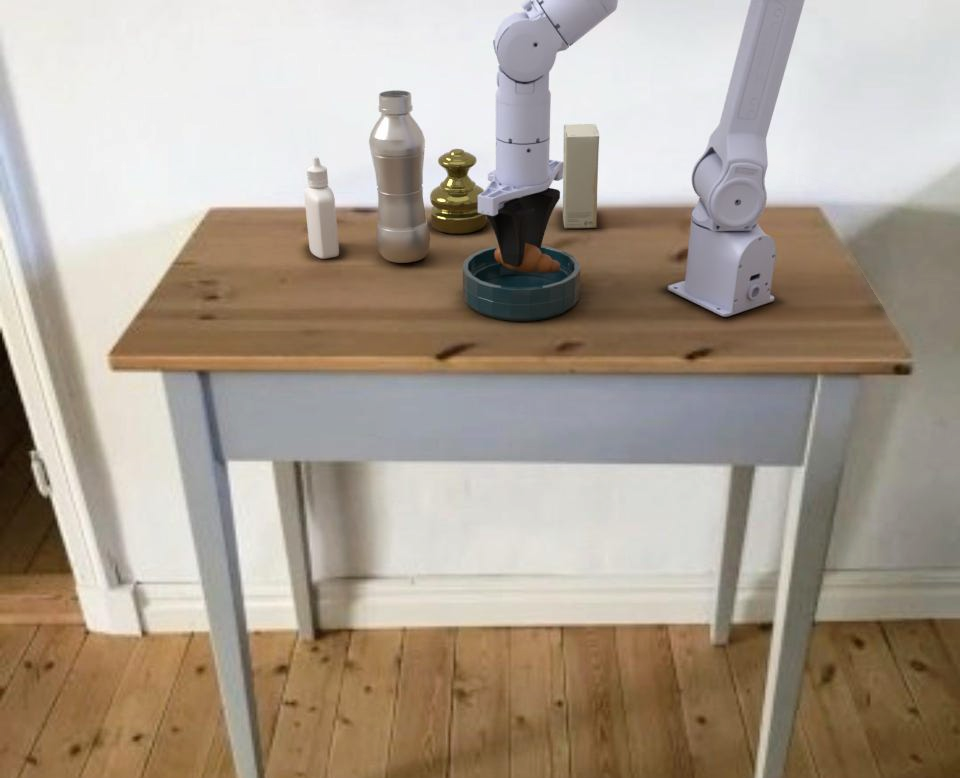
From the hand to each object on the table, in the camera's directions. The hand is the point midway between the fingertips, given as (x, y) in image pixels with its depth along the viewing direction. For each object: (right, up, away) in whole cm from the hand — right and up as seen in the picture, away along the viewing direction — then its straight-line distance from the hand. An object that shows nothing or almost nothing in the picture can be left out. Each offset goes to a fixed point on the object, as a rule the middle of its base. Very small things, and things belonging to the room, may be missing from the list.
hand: (521, 258), depth 120 cm
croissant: (0, -1, +1) cm, 1 cm away
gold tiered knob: (-8, +9, +23) cm, 25 cm away
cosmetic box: (+9, +9, +24) cm, 27 cm away
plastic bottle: (-14, +2, +13) cm, 19 cm away
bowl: (0, -4, +3) cm, 5 cm away
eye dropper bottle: (-24, +4, +15) cm, 29 cm away
